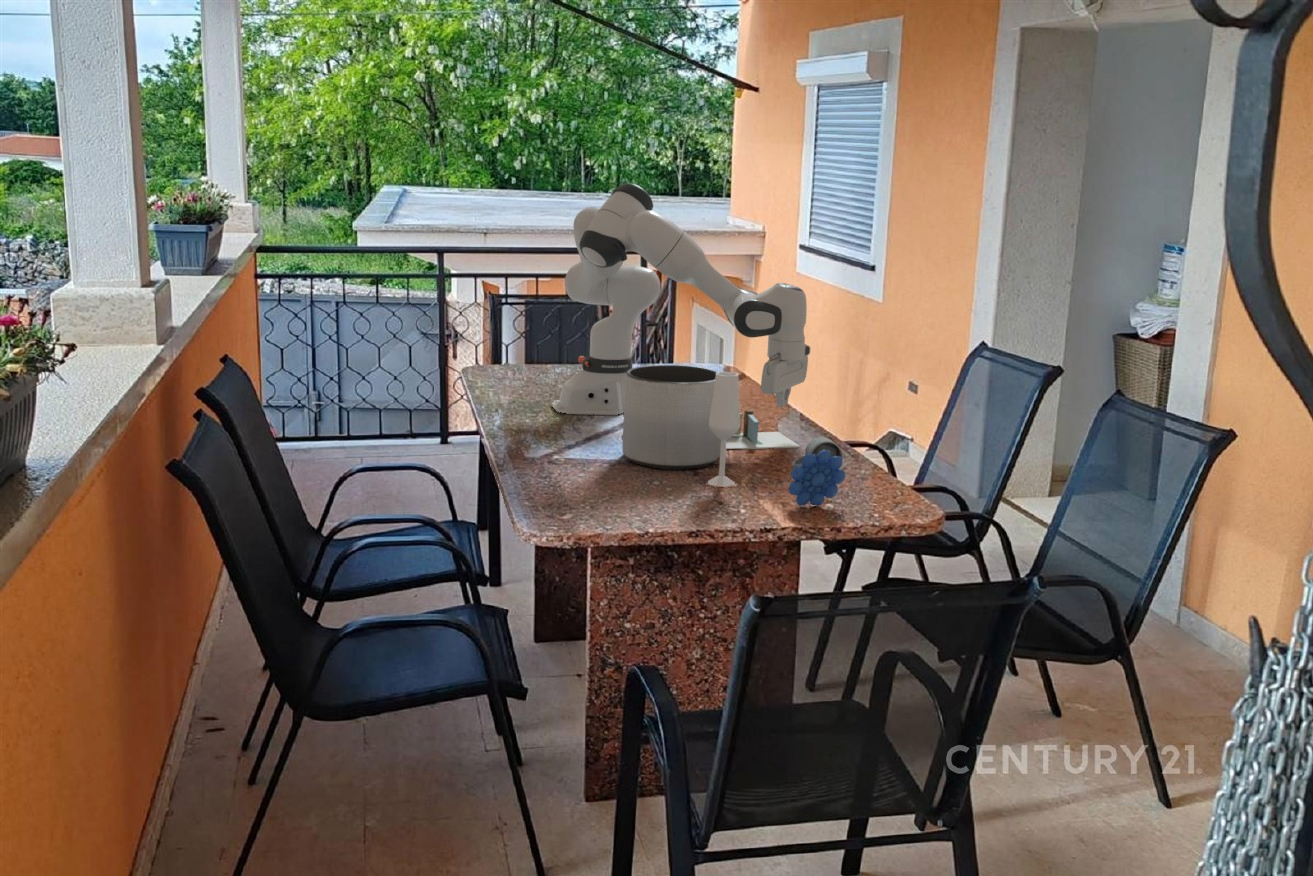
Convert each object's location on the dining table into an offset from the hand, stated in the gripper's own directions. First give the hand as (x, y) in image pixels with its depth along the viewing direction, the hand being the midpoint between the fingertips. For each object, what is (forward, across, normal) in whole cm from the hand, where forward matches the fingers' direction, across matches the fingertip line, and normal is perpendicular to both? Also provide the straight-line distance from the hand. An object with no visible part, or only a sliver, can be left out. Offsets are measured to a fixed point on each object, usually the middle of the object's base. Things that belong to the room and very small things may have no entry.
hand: (782, 405), depth 301 cm
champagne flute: (+8, -44, -6) cm, 46 cm away
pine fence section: (+9, -6, +12) cm, 16 cm away
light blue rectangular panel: (+8, -7, +4) cm, 11 cm away
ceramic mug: (+9, -21, -18) cm, 29 cm away
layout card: (+9, -5, +6) cm, 12 cm away
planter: (+9, -32, +13) cm, 36 cm away
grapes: (+8, -48, -28) cm, 56 cm away
